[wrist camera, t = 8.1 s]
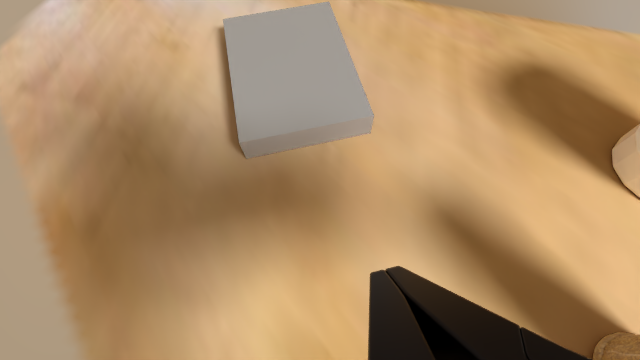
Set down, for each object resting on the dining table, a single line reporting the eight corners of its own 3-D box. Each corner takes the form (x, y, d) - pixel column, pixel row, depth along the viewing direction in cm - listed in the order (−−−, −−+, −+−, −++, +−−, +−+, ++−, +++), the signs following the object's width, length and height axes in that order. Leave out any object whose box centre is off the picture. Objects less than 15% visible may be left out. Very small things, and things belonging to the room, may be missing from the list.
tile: (373, 115, 22) (328, 1, 29) (239, 142, 22) (222, 19, 28) (369, 136, 25) (328, 26, 31) (247, 161, 24) (230, 43, 30)
